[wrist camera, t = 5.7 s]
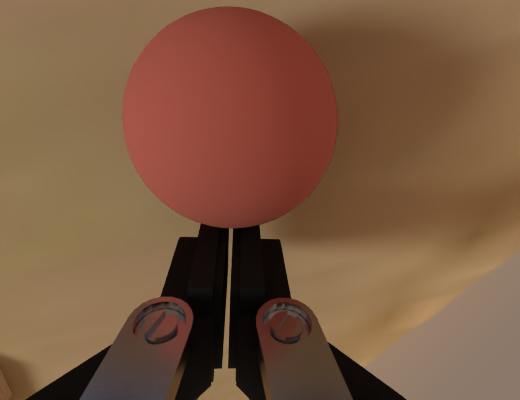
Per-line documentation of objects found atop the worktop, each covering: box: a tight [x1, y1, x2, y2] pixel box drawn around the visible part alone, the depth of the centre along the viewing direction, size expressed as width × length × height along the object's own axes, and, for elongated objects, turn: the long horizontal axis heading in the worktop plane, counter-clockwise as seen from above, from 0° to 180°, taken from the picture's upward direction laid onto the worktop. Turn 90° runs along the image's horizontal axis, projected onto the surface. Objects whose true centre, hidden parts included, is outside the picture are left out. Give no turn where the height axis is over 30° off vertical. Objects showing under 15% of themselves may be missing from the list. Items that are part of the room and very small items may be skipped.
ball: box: [122, 7, 338, 228], centre depth 7 cm, size 5×5×5 cm
